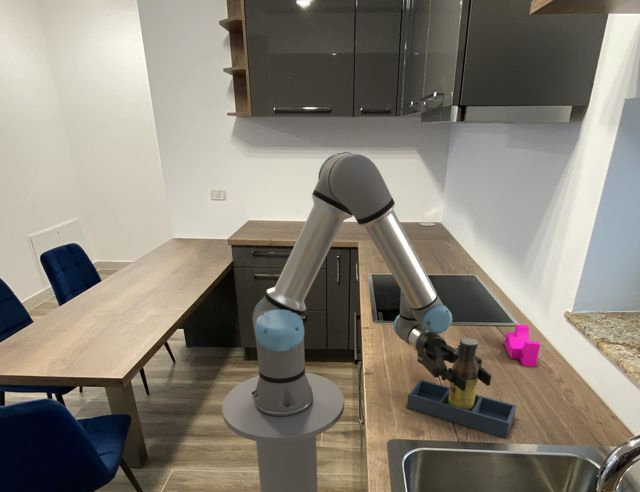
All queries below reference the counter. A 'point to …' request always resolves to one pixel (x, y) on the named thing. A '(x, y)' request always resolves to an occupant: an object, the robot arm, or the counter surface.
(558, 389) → the counter surface
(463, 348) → the sauce bottle
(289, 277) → the robot arm
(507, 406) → the compartment tray
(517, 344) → the toy block
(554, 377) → the counter surface
